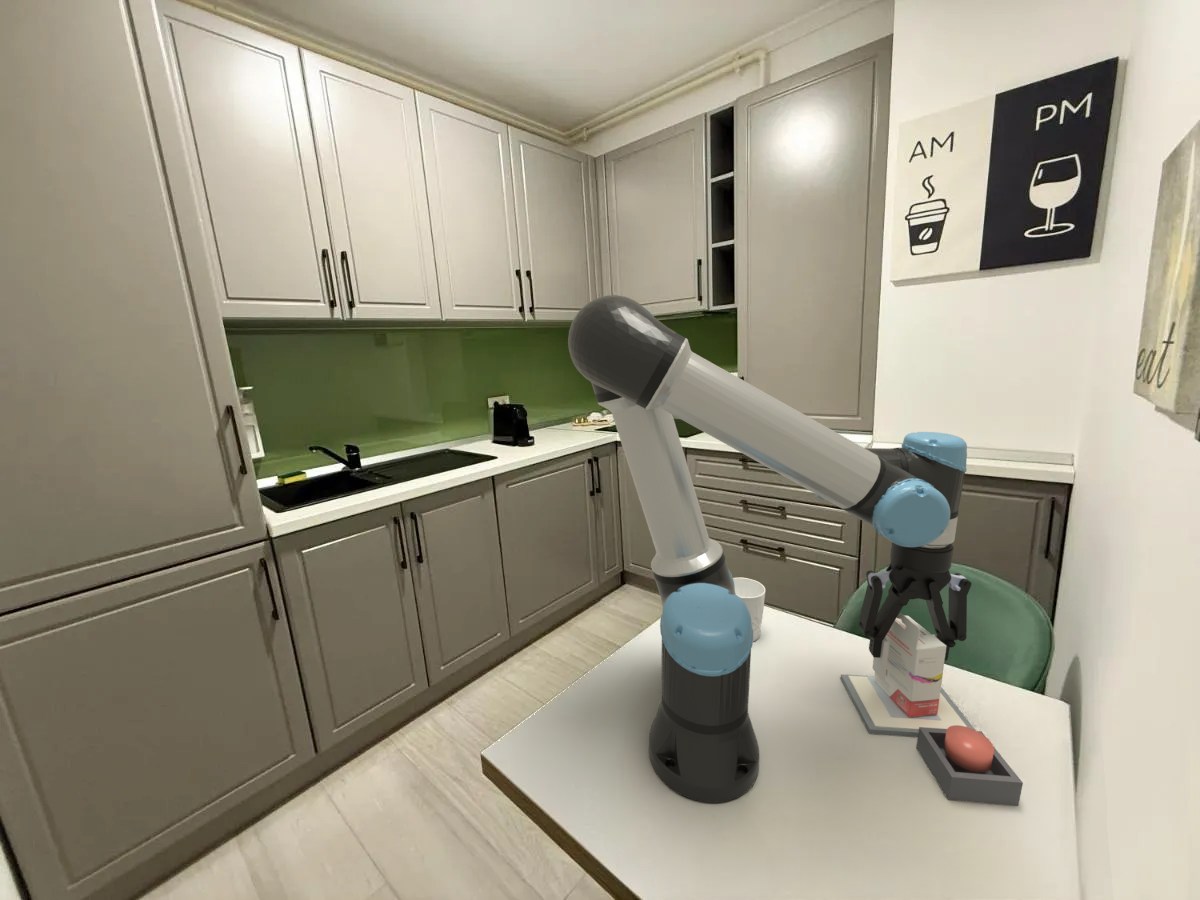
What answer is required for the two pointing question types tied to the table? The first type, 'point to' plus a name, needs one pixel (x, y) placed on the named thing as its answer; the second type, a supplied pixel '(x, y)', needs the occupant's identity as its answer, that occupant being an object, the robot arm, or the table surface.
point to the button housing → (968, 773)
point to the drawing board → (896, 710)
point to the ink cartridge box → (913, 668)
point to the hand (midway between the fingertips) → (904, 675)
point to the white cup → (752, 601)
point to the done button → (969, 748)
